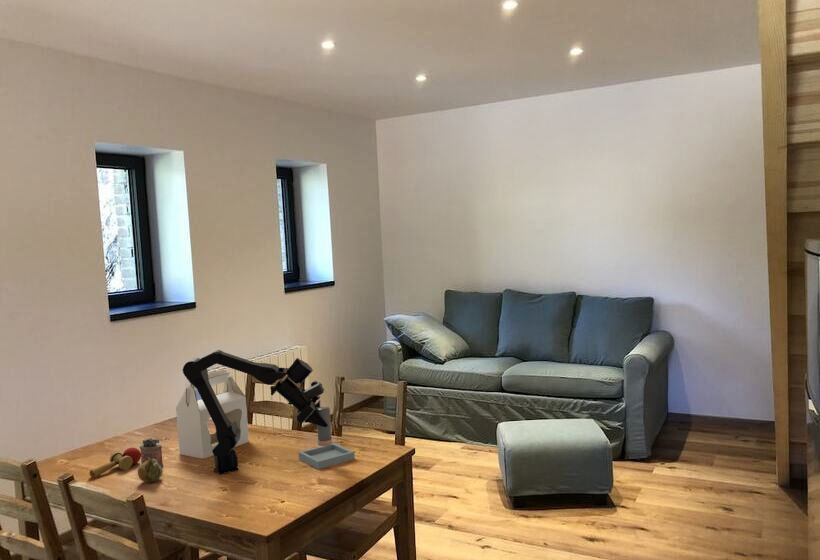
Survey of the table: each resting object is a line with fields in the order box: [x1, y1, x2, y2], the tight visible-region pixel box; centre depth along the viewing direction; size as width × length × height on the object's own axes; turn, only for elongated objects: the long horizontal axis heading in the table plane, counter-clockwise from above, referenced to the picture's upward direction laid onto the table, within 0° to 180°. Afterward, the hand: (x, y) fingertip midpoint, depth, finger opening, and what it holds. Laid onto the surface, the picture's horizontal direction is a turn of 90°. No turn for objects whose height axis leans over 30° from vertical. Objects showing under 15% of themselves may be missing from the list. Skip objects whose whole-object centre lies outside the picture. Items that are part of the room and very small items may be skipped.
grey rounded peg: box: [316, 406, 333, 447], centre depth 225 cm, size 5×5×12 cm
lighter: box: [139, 437, 164, 469], centre depth 232 cm, size 8×3×10 cm, turn 76°
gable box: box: [175, 369, 250, 460], centre depth 249 cm, size 22×13×28 cm, turn 147°
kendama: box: [89, 447, 141, 479], centre depth 232 cm, size 8×6×18 cm
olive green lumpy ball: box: [137, 458, 164, 484], centre depth 218 cm, size 8×8×8 cm
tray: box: [298, 442, 356, 470], centre depth 230 cm, size 14×14×2 cm
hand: (327, 424), depth 225 cm, fingers closed on grey rounded peg, 4 cm apart
